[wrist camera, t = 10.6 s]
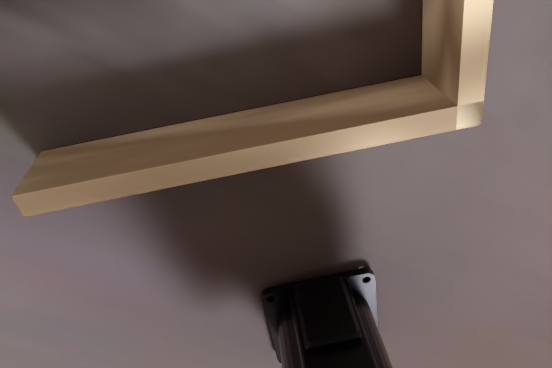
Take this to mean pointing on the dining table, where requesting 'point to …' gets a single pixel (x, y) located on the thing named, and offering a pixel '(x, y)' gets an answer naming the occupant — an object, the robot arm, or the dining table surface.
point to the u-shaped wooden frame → (281, 125)
